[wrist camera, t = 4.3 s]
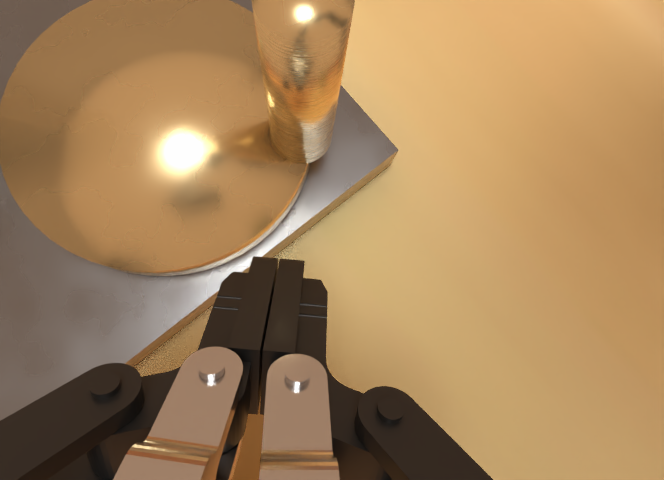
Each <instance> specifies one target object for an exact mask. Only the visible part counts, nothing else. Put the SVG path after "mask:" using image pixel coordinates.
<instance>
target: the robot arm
mask: <svg viewBox="0 0 664 480" xmlns="http://www.w3.org/2000/svg"><path fill="white" fill-rule="evenodd" d="M303 271H304V261H299V260H289V259H280V261H279V267H278V258H268V257H258V256H253V258H252V262H251V265H250V269H249V272H248V273H243V272H232V273H231V274H230V275H229V276H228V277H227V278H226V279H225V280H223V281H222V283H221V286H220V288H219V291H218V294H217V298H216V300H215V303H214V305H213V309H212V311H211V314H210V317H209V320H208V322H207V325H206V328H205V331H204V334H203V337H202V339H201V342H200V345H199V348H198V350H197V351H196V352H194V353H193V354H191V355H190V356H189V357H187V359H186V360H185V361H184V362H183V364H182V366H181V367H179V368H177V369H175V370H172V371H169V372H165V373H160V374H154V375H149V376H143V377H141V376H140V374H139V372H138V371H137V370H136V369H135V368H134V367H132V366H130V365H127V364H124V363H108V364H103V365H100V366H97V367H94V368H92V369H90V370H89V371H87V372H85V373H83V374H81V375H80V376H78V377H76V378H74V379H73V380H71V381H69V382H67V383H66V384H64V385H62V386H60V387H59V388H57V389H55V390H53V391H52V392H50V393H48V394H46V395H45V396H43V397H41V398H39V399H38V400H36V401H34V402H32V403H31V404H29V405H27V406H25V407H24V408H22V409H20V410H18V411H17V412H15V413H13V414H11V415H10V416H8V417H6V418H4V419H2V420H1V421H0V480H232V478H233V474H234V471H235V467H236V464H237V460H238V456H239V453H240V449H241V445H242V437H243V435H244V432H245V427H246V422H247V417H248V414H258V408H259V402H260V397H261V406H260V414H262V415H264V423H263V437H262V451H261V460H260V473H259V480H493V479H492V478H491V477H490V476H489V475H488V474H487V473H486V472H485V471H484V470H483V469H482V468H481V467H480V466H479V465H478V464H477V463H476V462H475V461H474V460H473V459H472V458H471V457H470V456H469V455H468V454H467V453H466V452H465V451H464V450H463V449H462V448H461V447H460V446H459V445H458V444H457V443H456V442H455V441H454V440H453V439H452V438H451V437H450V436H449V435H448V434H447V433H446V432H445V431H444V430H443V429H442V428H441V427H440V426H439V425H438V424H437V423H436V422H435V421H434V420H433V419H432V418H431V417H430V416H429V415H428V414H427V413H426V412H425V411H424V410H423V409H422V408H421V407H420V406H419V405H418V404H417V403H416V402H415V401H414V400H413V399H412V398H411V397H410V396H408V395H407V394H406V393H404V392H403V391H401V390H398V389H396V388H393V387H387V386H381V387H375V388H372V389H370V390H368V391H367V392H365V393H364V394H363V393H361V392H358V391H355V390H353V389H350V388H348V387H346V386H344V385H342V384H341V383H339V382H338V381H337V380H336V379H335V378H334V377H333V376H332V375H331V374H330V372H329V370H328V368H327V365H326V330H327V293H328V292H327V290H326V288H325V287H324V285H323V283H322V281H321V280H317V279H306V278H303Z"/></svg>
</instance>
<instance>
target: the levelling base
mask: <svg viewBox="0 0 664 480" xmlns="http://www.w3.org/2000/svg"><path fill="white" fill-rule="evenodd" d="M89 1H92V0H0V104H1V99H2V97H3V94H4V91H5V88H6V85H7V82H8V80H9V78H10V76H11V74H12V73H13V71H14V69H15V67H16V65H17V63H18V62H19V60H20V59H21V58H22V56H23V55H24V53H25V52H26V50H27V49H28V48H29V47H30V46H31V45H32V43H33V42H34V41H35V40H36V39H37V38H38V37H39V36H40V35H41V34H42V33H43V32H44V31H45V30H46V29H48V28H49V27H50V26H51V25H52V24H53V23H55V22H56V21H57V20H59V19H60V18H62V17H63V16H65V15H66V14H68V13H69V12H71V11H72V10H74V9H76V8H78V7H80V6H82V5H84V4H86V3H87V2H89ZM230 1H232V2H235V3H237V4H239V5H241V6H242V7H244V8H246V9H247V10H249V11H251V12H252V13H253V7H252V0H230ZM397 152H398V149H397V148H396V147H395V146H394V145H393V143H392V142H391V141H390V140H389V139H388V138H387V137H386V136H385V134H384V133H383V132H382V131H381V130H380V129H379V128H378V127H377V125H376V124H375V123H374V122H373V121H372V120H371V119H370V118H369V116H368V115H367V114H366V113H365V112H364V111H363V110H362V109H361V107H360V106H359V105H358V104H357V103H356V102H355V101H354V99H353V98H352V97H351V96H350V95H349V94H348V93H347V92H346V90H345V89H344V88H343V87H342V86H341V85H340V91H339V97H338V103H337V109H336V115H335V121H334V127H333V133H332V139H331V144H330V146H329V148H328V150H327V152H326V153H325V154H324V155H323V156H322V157H321V158H319V159H318V160H316V161H314V162H311V163H310V166H309V170H308V173H307V176H306V179H305V182H304V185H303V187H302V189H301V191H300V193H299V195H298V198H297V200H296V202H295V203H294V205H293V206H292V208H291V209H290V211H289V212H288V214H287V215H286V217H285V218H284V219H283V220H282V221H281V222H280V223H279V225H278V226H277V227H276V228H275V229H274V230H273V231H272V232H271V233H270V234H269V235H268V236H266V237H265V238H264V239H263V240H262V241H261V242H260V243H258V244H257V245H255V246H254V247H253V248H251V249H250V250H248V251H247V252H245V253H244V254H242V255H240V256H238V257H236V258H234V259H232V260H230V261H228V262H226V263H224V264H221V265H218V266H216V267H213V268H210V269H207V270H203V271H199V272H194V273H190V274H185V275H174V276H145V275H139V274H133V273H127V272H123V271H119V270H116V269H113V268H110V267H106V266H103V265H100V264H97V263H94V262H91V261H89V260H86V259H84V258H82V257H80V256H78V255H75V254H73V253H71V252H69V251H67V250H66V249H64V248H63V247H61V246H59V245H58V244H56V243H55V242H53V241H52V240H50V239H49V238H48V237H47V236H46V235H45V234H43V233H42V232H41V231H40V230H39V229H38V228H36V227H35V226H34V224H33V223H32V222H31V221H30V220H29V219H28V217H27V216H26V215H25V214H24V213H23V212H22V210H21V209H20V207H19V206H18V204H17V202H16V201H15V199H14V198H13V196H12V194H11V192H10V190H9V188H8V185H7V183H6V181H5V178H4V176H3V172H2V168H1V165H0V421H1V420H2V419H4V418H6V417H8V416H10V415H11V414H13V413H15V412H17V411H18V410H20V409H22V408H24V407H25V406H27V405H29V404H31V403H32V402H34V401H36V400H38V399H39V398H41V397H43V396H45V395H46V394H48V393H50V392H52V391H53V390H55V389H57V388H59V387H60V386H62V385H64V384H66V383H67V382H69V381H71V380H73V379H74V378H76V377H78V376H80V375H81V374H83V373H85V372H87V371H89V370H90V369H92V368H94V367H97V366H100V365H103V364H108V363H124V364H127V365H130V366H132V367H134V366H135V365H137V364H138V363H139V362H140V361H142V360H143V359H144V358H145V357H147V356H148V355H149V354H151V353H152V352H153V351H154V350H156V349H157V348H158V347H159V346H161V345H162V344H163V343H165V342H166V341H167V340H168V339H170V338H171V337H172V336H173V335H175V334H176V333H177V332H179V331H180V330H181V329H182V328H184V327H185V326H186V325H187V324H189V323H190V322H191V321H193V320H194V319H195V318H196V317H198V316H199V315H200V314H201V313H203V312H204V311H205V310H207V309H208V308H209V307H210V306H212V305H213V304H214V303H215V300H216V298H217V294H218V291H219V288H220V286H221V283H222V281H223V280H225V279H226V278H227V277H228V276H229V275H230V274H231V273H232V272H243V273H248V272H249V269H250V265H251V262H252V258H253V256H258V257H268V258H273V257H274V256H275V255H277V254H278V253H279V252H280V251H282V250H283V249H284V248H285V247H287V246H288V245H289V244H291V243H292V242H293V241H294V240H296V239H297V238H298V237H299V236H301V235H302V234H303V233H305V232H306V231H307V230H308V229H310V228H311V227H312V226H313V225H315V224H316V223H317V222H319V221H320V220H321V219H322V218H324V217H325V216H326V215H327V214H329V213H330V212H331V211H333V210H334V209H335V208H336V207H338V206H339V205H340V204H341V203H343V202H344V201H345V200H347V199H348V198H349V197H350V196H352V195H353V194H354V193H355V192H357V191H358V190H359V189H361V188H362V187H363V186H364V185H366V184H367V183H368V182H369V181H371V180H372V179H373V178H375V177H376V176H377V175H378V174H380V173H381V172H382V171H383V170H385V169H386V168H387V167H389V166H390V164H391V162H392V161H393V159H394V157H395V155H396V153H397Z"/></svg>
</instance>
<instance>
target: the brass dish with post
mask: <svg viewBox="0 0 664 480" xmlns="http://www.w3.org/2000/svg"><path fill="white" fill-rule="evenodd" d="M252 7H253V13H252V12H251V11H249V10H247V9H246V8H244V7H242V6H241V5H239V4H237V3H235V2H232V1H230V0H92V1H89V2H87V3H86V4H84V5H82V6H80V7H78V8H76V9H74V10H72V11H71V12H69V13H68V14H66V15H65V16H63V17H62V18H60V19H59V20H57V21H56V22H55V23H53V24H52V25H51V26H50V27H49V28H48V29H46V30H45V31H44V32H43V33H42V34H41V35H40V36H39V37H38V38H37V39H36V40H35V41H34V42H33V43H32V45H31V46H30V47H29V48H28V49H27V50H26V52H25V53H24V55H23V56H22V58H21V59H20V60H19V62H18V63H17V65H16V67H15V69H14V71H13V73H12V74H11V76H10V78H9V80H8V82H7V85H6V88H5V91H4V94H3V97H2V99H1V104H0V165H1V168H2V172H3V176H4V178H5V181H6V183H7V185H8V188H9V190H10V192H11V194H12V196H13V198H14V199H15V201H16V202H17V204H18V206H19V207H20V209H21V210H22V212H23V213H24V214H25V215H26V216H27V217H28V219H29V220H30V221H31V222H32V223H33V224H34V226H35V227H36V228H38V229H39V230H40V231H41V232H42V233H43V234H45V235H46V236H47V237H48V238H49V239H50V240H52V241H53V242H55V243H56V244H58V245H59V246H61V247H63V248H64V249H66V250H67V251H69V252H71V253H73V254H75V255H78V256H80V257H82V258H84V259H86V260H89V261H91V262H94V263H97V264H100V265H103V266H106V267H110V268H113V269H116V270H119V271H123V272H127V273H133V274H139V275H145V276H174V275H185V274H190V273H194V272H199V271H203V270H207V269H210V268H213V267H216V266H218V265H221V264H224V263H226V262H228V261H230V260H232V259H234V258H236V257H238V256H240V255H242V254H244V253H245V252H247V251H248V250H250V249H251V248H253V247H254V246H255V245H257V244H258V243H260V242H261V241H262V240H263V239H264V238H265V237H266V236H268V235H269V234H270V233H271V232H272V231H273V230H274V229H275V228H276V227H277V226H278V225H279V223H280V222H281V221H282V220H283V219H284V218H285V217H286V215H287V214H288V212H289V211H290V209H291V208H292V206H293V205H294V203H295V202H296V200H297V198H298V195H299V193H300V191H301V189H302V187H303V185H304V182H305V179H306V176H307V173H308V170H309V166H310V163H311V162H314V161H316V160H318V159H319V158H321V157H322V156H323V155H324V154H325V153H326V152H327V150H328V148H329V146H330V144H331V139H332V133H333V127H334V121H335V115H336V109H337V103H338V97H339V91H340V85H341V79H342V74H343V68H344V62H345V56H346V50H347V44H348V38H349V32H350V26H351V20H352V14H353V8H354V0H252Z"/></svg>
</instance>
